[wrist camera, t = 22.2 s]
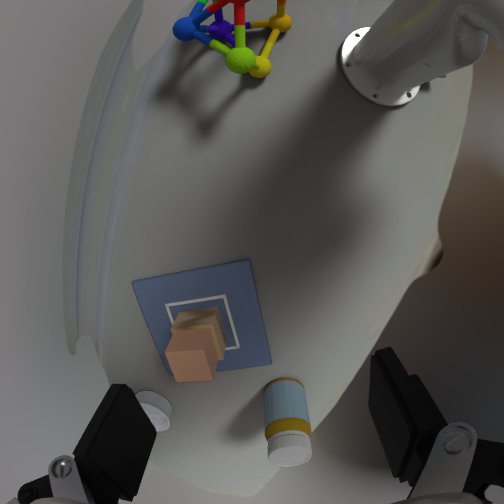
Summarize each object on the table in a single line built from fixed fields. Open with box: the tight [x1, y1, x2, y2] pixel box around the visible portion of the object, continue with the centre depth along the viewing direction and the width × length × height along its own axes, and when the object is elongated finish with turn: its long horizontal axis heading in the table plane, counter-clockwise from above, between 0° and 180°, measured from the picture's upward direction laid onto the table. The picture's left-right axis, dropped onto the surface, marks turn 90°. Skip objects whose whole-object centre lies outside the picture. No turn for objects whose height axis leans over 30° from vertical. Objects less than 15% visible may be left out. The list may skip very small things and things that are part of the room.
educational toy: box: [173, 0, 292, 78], centre depth 24 cm, size 16×13×15 cm
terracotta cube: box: [165, 328, 218, 382], centre depth 35 cm, size 5×5×5 cm
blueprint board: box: [132, 259, 272, 375], centre depth 43 cm, size 18×18×1 cm
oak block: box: [171, 307, 227, 360], centre depth 40 cm, size 6×6×5 cm
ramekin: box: [135, 391, 172, 432], centre depth 47 cm, size 9×9×4 cm
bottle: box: [264, 378, 312, 467], centre depth 40 cm, size 7×7×15 cm
